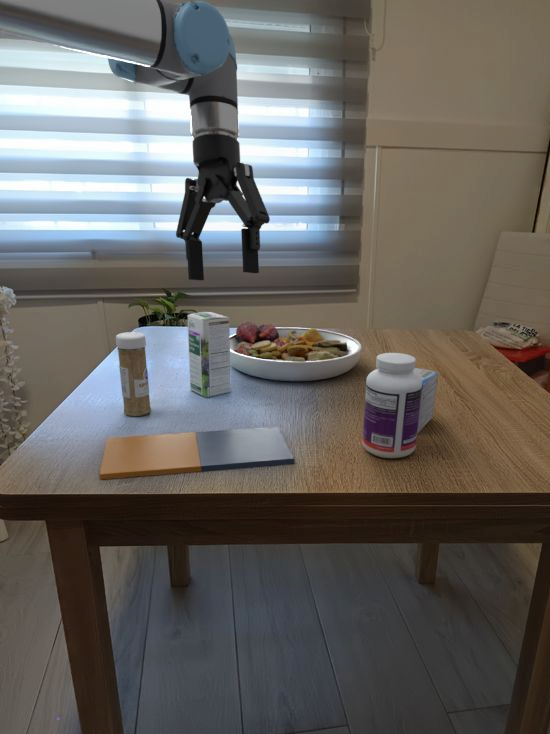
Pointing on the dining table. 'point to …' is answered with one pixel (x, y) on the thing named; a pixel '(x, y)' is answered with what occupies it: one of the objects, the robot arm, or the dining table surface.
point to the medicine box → (426, 396)
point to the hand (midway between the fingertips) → (222, 276)
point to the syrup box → (209, 353)
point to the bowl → (292, 352)
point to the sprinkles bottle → (133, 373)
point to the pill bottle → (392, 406)
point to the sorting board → (193, 452)
